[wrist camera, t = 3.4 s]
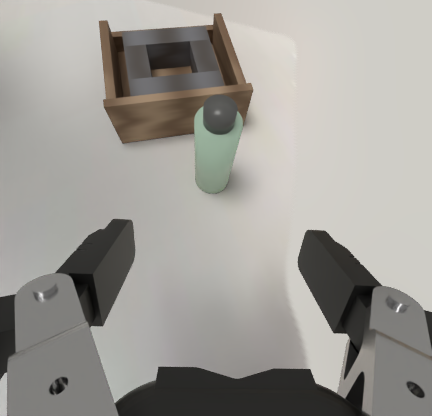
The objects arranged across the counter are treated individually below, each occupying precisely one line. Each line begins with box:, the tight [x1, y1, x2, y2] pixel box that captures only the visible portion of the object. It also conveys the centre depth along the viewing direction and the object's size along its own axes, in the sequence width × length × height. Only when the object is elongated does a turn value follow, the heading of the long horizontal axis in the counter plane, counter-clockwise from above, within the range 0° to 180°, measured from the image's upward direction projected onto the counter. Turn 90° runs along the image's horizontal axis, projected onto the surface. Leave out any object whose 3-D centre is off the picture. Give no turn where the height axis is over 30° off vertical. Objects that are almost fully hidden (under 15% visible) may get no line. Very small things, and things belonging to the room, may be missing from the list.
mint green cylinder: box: [194, 95, 243, 194], centre depth 22 cm, size 4×4×12 cm
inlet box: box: [99, 13, 253, 143], centre depth 29 cm, size 16×16×6 cm
